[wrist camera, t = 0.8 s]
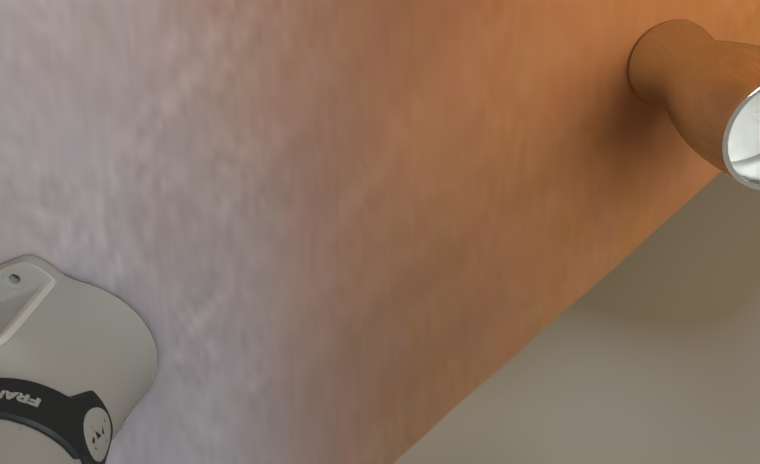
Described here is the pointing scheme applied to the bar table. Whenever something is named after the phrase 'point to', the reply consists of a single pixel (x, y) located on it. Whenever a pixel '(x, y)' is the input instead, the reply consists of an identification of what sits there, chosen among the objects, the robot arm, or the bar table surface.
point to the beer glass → (704, 93)
